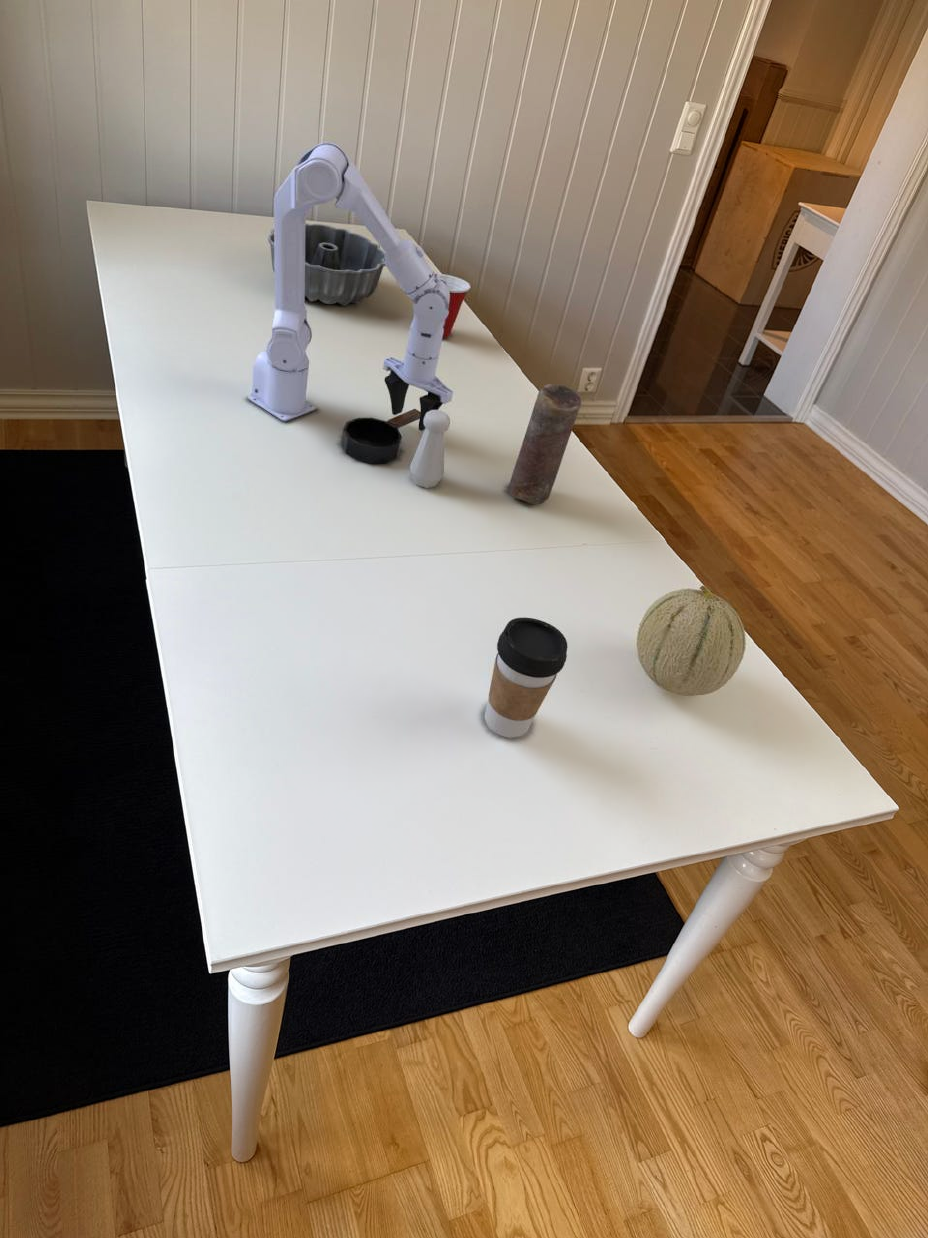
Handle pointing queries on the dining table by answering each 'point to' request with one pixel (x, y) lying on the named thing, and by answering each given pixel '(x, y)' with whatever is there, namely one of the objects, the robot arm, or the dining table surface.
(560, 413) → the candle
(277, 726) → the dining table surface
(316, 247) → the bundt pan
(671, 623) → the cantaloupe
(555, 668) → the coffee cup
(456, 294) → the plastic cup
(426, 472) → the salt shaker
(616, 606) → the dining table surface
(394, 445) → the pan
